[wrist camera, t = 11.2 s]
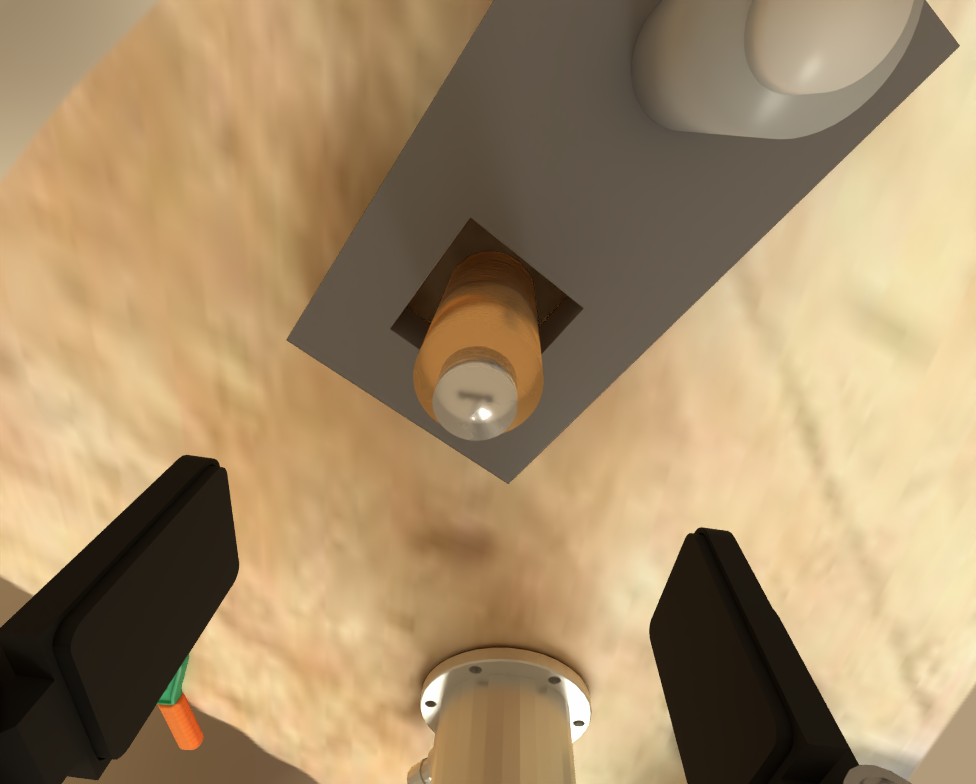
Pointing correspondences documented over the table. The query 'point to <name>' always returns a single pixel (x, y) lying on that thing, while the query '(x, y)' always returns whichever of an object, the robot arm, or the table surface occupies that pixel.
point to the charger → (611, 176)
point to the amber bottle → (482, 350)
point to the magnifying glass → (180, 713)
